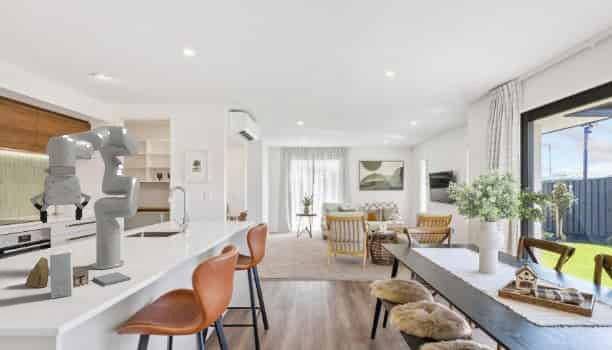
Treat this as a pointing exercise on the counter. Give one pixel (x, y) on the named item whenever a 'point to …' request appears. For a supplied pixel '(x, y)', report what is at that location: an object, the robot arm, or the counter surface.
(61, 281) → the skincare box
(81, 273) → the walnut letter cube
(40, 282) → the rock
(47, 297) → the counter surface
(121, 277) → the slate mat
